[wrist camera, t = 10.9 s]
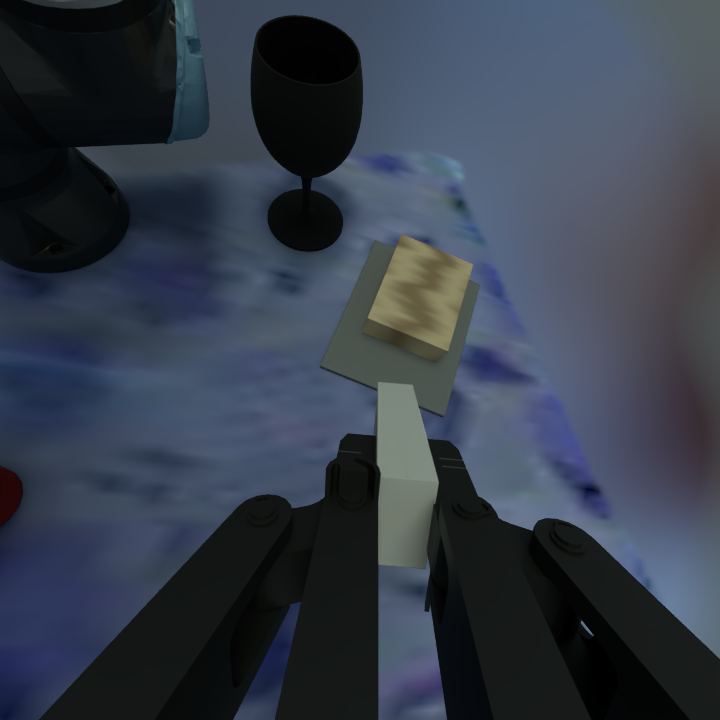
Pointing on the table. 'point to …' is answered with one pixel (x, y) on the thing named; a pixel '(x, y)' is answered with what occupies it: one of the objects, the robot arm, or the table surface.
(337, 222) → the wine glass
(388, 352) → the rubber mat
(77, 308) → the table surface
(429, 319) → the oak board
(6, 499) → the plastic cup
